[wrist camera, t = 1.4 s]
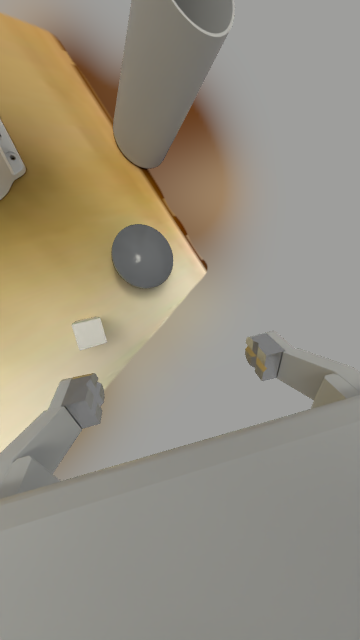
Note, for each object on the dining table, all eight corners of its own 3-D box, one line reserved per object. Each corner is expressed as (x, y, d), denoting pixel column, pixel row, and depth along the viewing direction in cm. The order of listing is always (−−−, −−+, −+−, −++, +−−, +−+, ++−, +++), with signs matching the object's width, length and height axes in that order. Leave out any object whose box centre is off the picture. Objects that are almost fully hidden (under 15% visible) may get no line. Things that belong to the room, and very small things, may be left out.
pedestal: (101, 238, 41) (104, 225, 35) (155, 235, 47) (165, 223, 41) (116, 296, 43) (121, 293, 37) (166, 286, 49) (178, 282, 43)
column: (75, 320, 40) (71, 324, 27) (95, 316, 41) (100, 317, 29) (81, 339, 40) (79, 351, 28) (100, 333, 42) (107, 342, 30)
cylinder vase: (138, 179, 45) (190, 46, 22) (100, 122, 41) (118, -110, 18) (173, 158, 49) (248, 27, 26) (142, 104, 44) (199, -105, 22)
